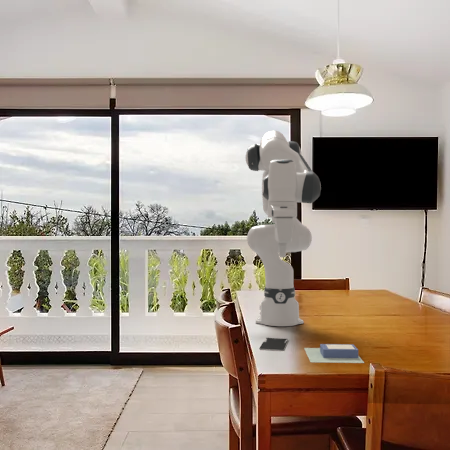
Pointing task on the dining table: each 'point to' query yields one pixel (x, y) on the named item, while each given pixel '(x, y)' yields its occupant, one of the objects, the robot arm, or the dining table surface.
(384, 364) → the dining table surface
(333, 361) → the mat
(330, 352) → the box
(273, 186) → the robot arm
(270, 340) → the smartphone
